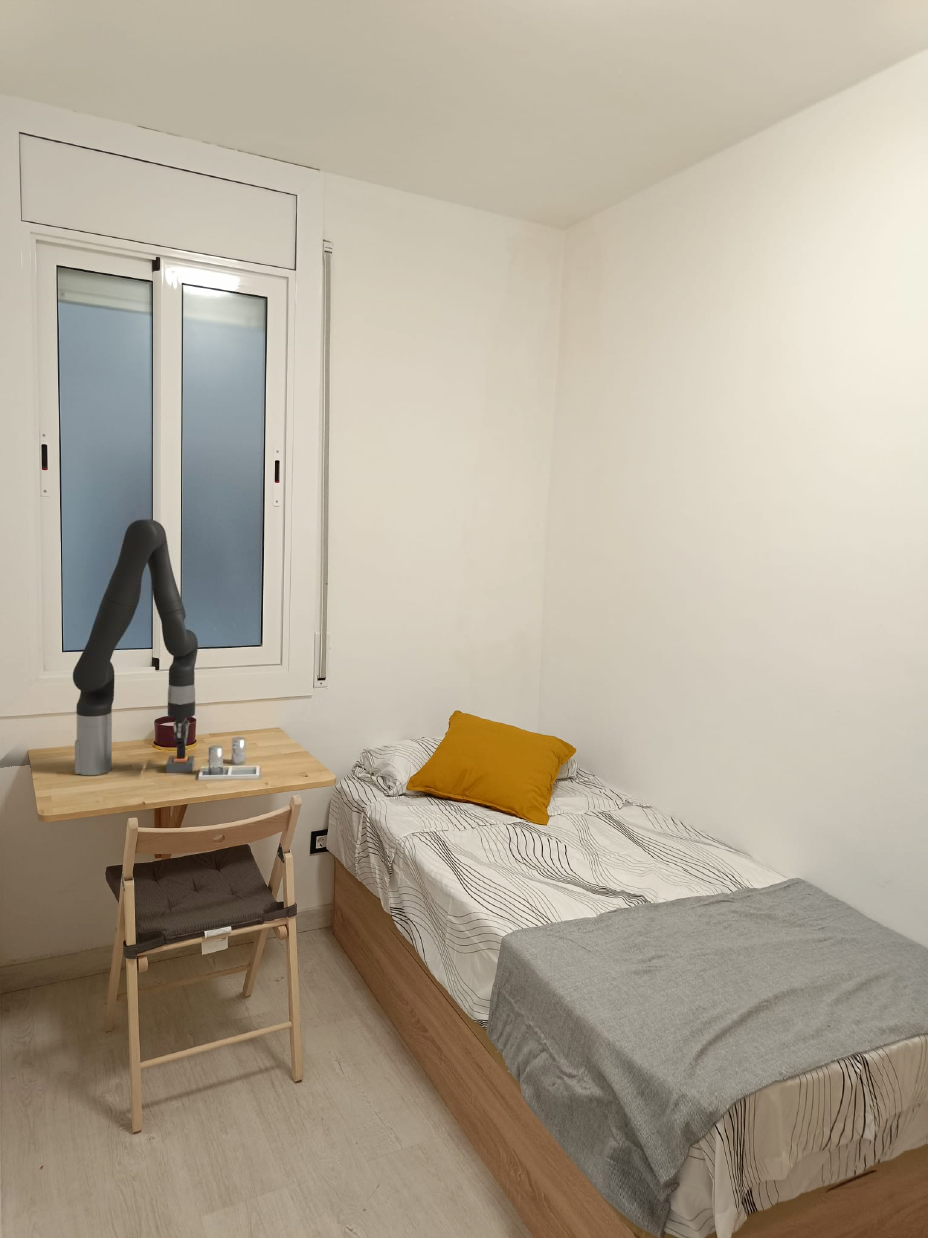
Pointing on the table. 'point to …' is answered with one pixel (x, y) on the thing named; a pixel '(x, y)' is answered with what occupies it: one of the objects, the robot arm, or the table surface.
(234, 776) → the white divided tray
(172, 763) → the button housing
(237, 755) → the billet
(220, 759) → the cylinder
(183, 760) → the button
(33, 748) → the table surface
